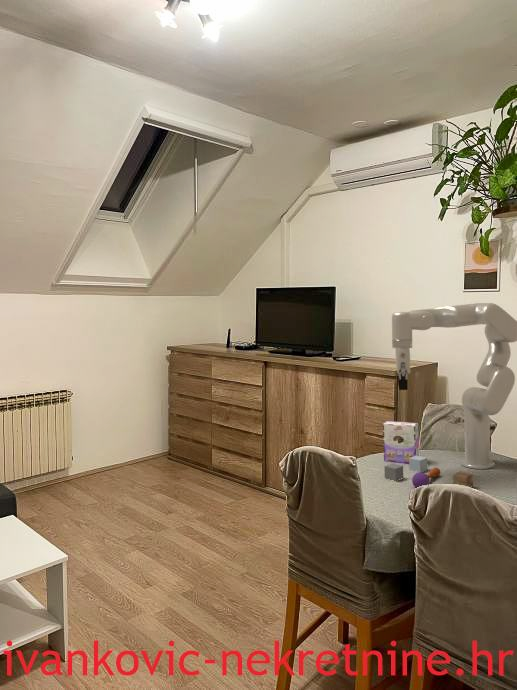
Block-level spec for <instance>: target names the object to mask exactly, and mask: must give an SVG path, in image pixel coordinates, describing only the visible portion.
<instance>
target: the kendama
mask: <svg viewBox="0 0 517 690" xmlns="http://www.w3.org/2000/svg"><path fill="white" fill-rule="evenodd" d="M441 473H442V472H441V469H440V468H438V467H436V466H435V467H433V468H432V469H431V470H430V471H429V472H428V474H426V473H424V472H416V473H415V474H413V476H412V478H411V483H412V486H414V488H416V487H419V486H422V485H427V484H429V485H430V479H431V478H435V477H439V476H440V475H441Z"/></svg>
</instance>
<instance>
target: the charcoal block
mask: <svg viewBox="0 0 517 690" xmlns="http://www.w3.org/2000/svg"><path fill="white" fill-rule="evenodd" d="M385 478H386V479H385ZM401 478H403V479H404V465H400V464H397V463H394V462H391V463H389V464H387V465H385V466H384V479H385V480H387V479H390V480H389V481H391V480H394V481H393V482H395V481H396V482H398V481H400V480H399V479H401ZM397 480H398V481H397ZM401 480H402V479H401Z"/></svg>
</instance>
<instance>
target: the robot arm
mask: <svg viewBox="0 0 517 690" xmlns="http://www.w3.org/2000/svg"><path fill="white" fill-rule="evenodd" d="M476 325H477V326H478V325H485V326H484V335H485V337H486V340H487V343H488V351H487V353H486V355H485V357H484V359H483V362H482V363H481V365H480V367H479V369H478V371H477V373H476V381H477V383H478V384H479V385H481V386H483V387H484V388H481V387H478V386H477V387H475V386H473V387H468V388H467V389H465V390H464V391H463V393H462V397H461V405H462V411H463V419H464V420H463V421H464V458H463V459H461V461H460V463H461V466H463V467H466V468H469V469H475V470H487V469H488V470H489V469H492V468H493V467H495V462H494V461H493V460H491V457H492V456H494V452H493V451H491V430H490V429H491V422H490V418H489V416H494V415H497V414H498V413H500V412H501V411H502V409H503V408H504V406H505V404H506V402H507V400H508V398H509V396H510V394H511V392H512V390H513V388H514V386H515V381H516V377H515V373H514V371H513V370H512V369H511V368H510V367H508V366H507V365H508V363H509V361H510V358H511V346H510V343H515V342H517V320H516V319H515V318H514V317H513V316H511V315H510V314H509V312H507V311H506V310H504V309H503V308H502V307H501V306H499V305H498V304H496V303H492V302H479V303H478V302H477V303H476V302H475V303H469V304H468V303H467V304H466V303H465V304H459V305H457V304H456V305H449V306H441V307H434V308H426V309H425V308H423V309H416V310H409V311H397V312H393V313H392V314H391V335H392V336H391V341H392V342H391V343H392V344H391V345H392V349H395V367H396V373H397V374H398V376H397V385H398V390H399V391H407V390H408V383H409V382H408V381H409V380H408V378H407V377H408V375H409V374H411V353H410V352H411V351H410V349H412V348H413V331H414V330H415V331H416V330H417V331H427V330H430V329H431V328H445V329H446V328H459V327H460V328H461V327H470V326H476ZM485 387H486V388H485Z"/></svg>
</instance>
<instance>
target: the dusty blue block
mask: <svg viewBox="0 0 517 690" xmlns="http://www.w3.org/2000/svg"><path fill="white" fill-rule="evenodd" d="M408 467H409V469H408V470H409V471H410V470H413V471H412V472H415V471H417V472H416V473H419V472H421V473H424V472H426V471H428V457H424V456H421V455H419V456H414V457H411V458H409V463H408ZM425 470H426V471H425Z"/></svg>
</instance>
